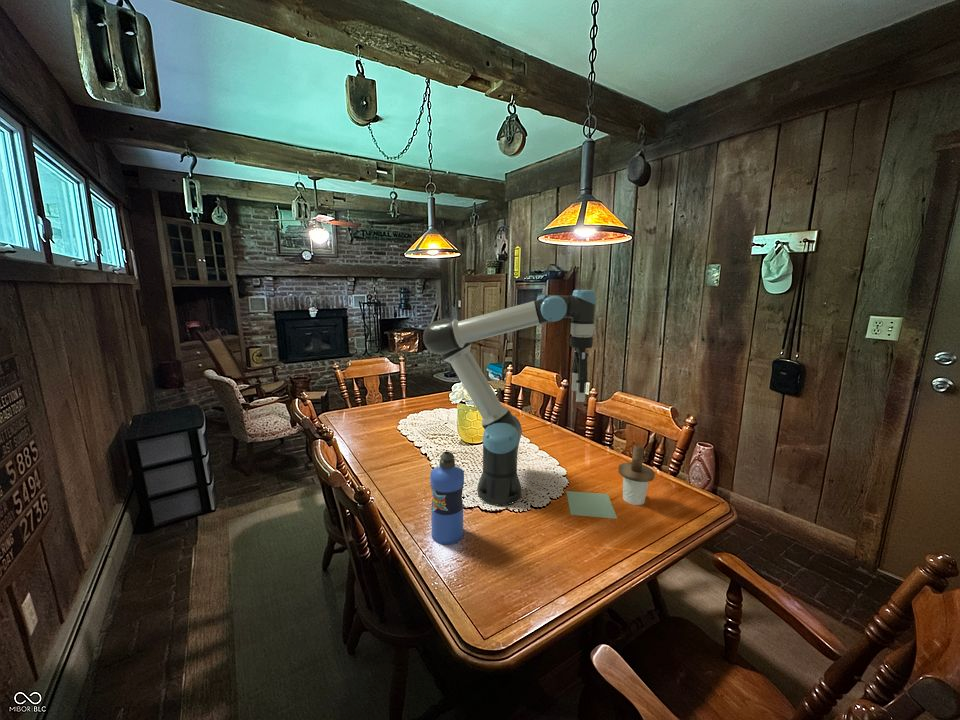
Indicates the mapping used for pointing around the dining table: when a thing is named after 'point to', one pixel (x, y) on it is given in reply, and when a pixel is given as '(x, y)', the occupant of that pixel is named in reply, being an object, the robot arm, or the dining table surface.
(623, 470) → the lid
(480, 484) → the robot arm
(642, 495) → the white cup
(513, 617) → the dining table surface
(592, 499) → the mat
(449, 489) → the water bottle
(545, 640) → the dining table surface
